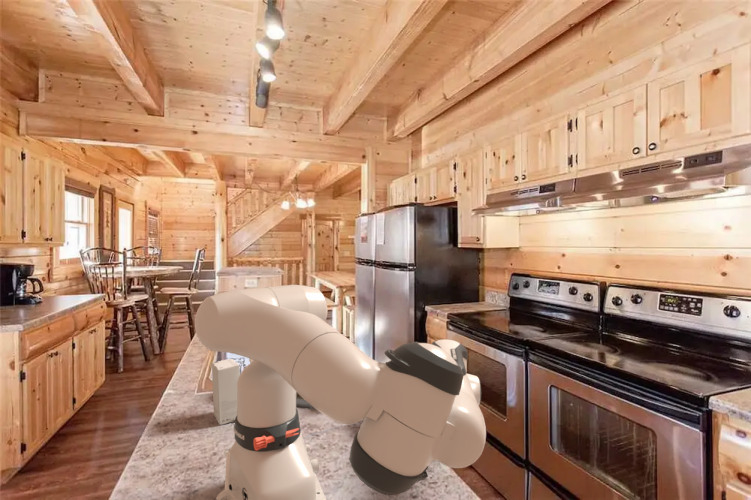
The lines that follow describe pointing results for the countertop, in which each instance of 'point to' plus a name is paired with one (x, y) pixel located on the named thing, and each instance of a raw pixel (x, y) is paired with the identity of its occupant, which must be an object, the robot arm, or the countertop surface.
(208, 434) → the countertop surface
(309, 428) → the countertop surface
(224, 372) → the skincare box
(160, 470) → the countertop surface
